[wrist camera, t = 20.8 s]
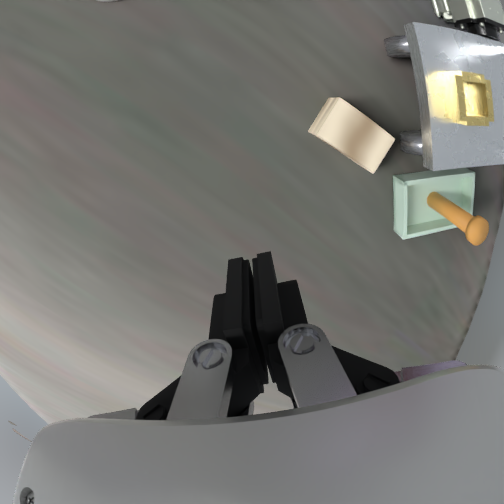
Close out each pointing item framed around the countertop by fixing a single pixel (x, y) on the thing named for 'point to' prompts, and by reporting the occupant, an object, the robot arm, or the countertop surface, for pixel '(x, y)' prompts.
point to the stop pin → (460, 218)
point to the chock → (352, 133)
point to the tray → (415, 199)
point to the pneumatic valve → (473, 15)
